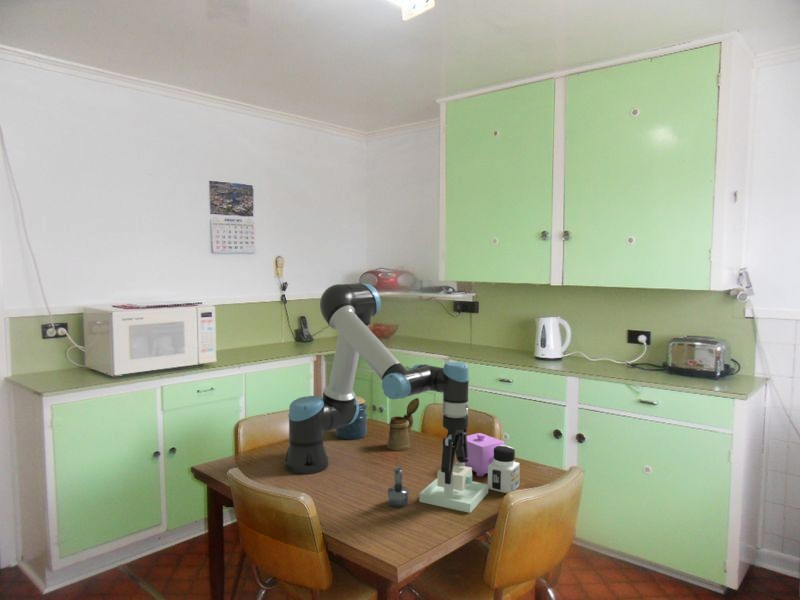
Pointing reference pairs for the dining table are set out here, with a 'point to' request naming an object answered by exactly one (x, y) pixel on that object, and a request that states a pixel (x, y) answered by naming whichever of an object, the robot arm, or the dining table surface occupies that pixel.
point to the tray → (454, 496)
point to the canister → (355, 424)
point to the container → (503, 470)
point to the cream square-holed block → (457, 477)
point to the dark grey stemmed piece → (398, 491)
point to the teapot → (481, 452)
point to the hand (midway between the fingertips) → (454, 488)
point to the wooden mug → (402, 428)
